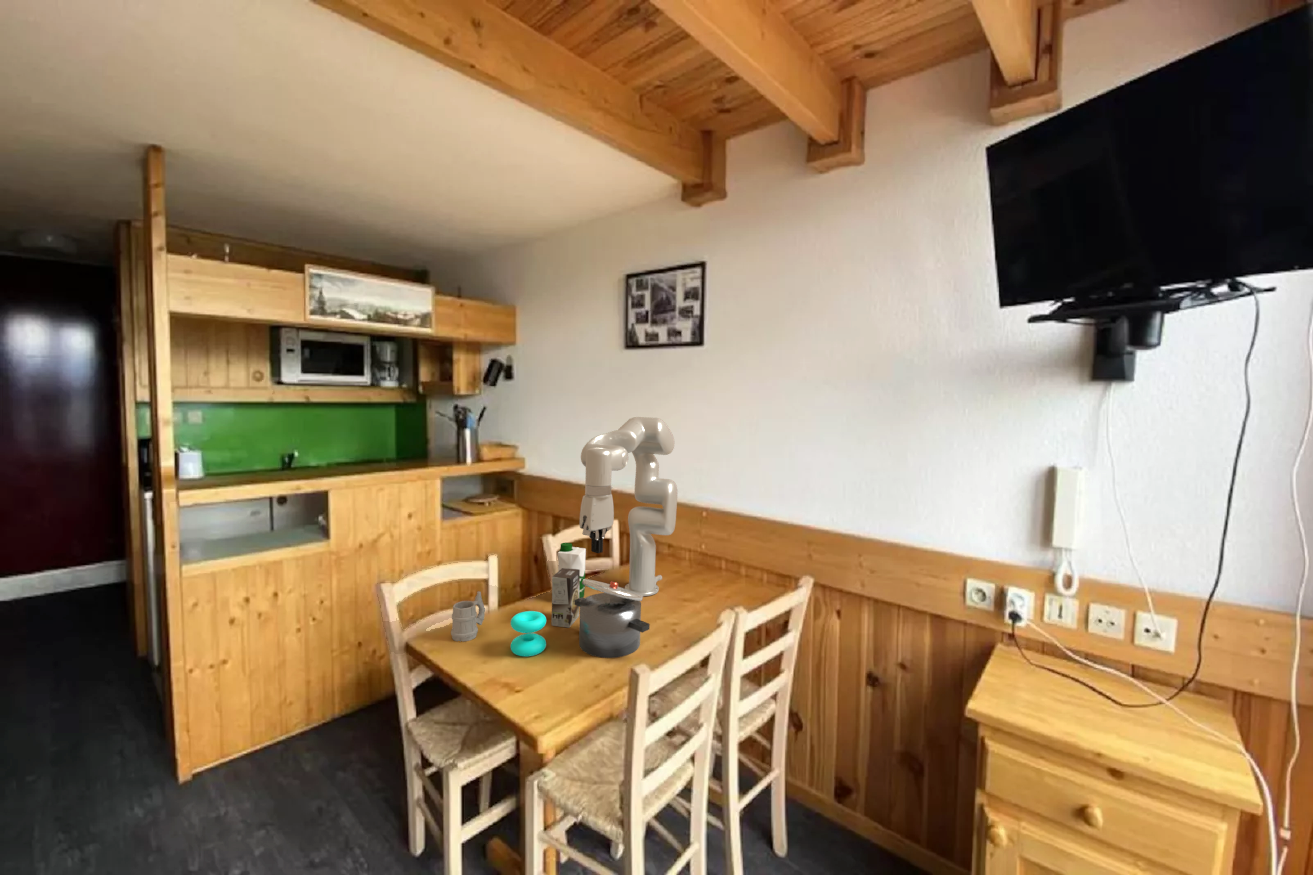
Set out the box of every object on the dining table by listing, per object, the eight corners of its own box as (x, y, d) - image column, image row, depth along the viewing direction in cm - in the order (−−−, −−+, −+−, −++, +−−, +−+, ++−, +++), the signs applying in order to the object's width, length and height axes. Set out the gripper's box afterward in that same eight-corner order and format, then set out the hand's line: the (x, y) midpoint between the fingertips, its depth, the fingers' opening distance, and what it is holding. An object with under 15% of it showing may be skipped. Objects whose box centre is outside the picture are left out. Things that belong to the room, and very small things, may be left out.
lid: (609, 587, 178) (612, 578, 179) (654, 603, 166) (656, 594, 167) (569, 580, 164) (572, 570, 165) (614, 596, 153) (617, 586, 153)
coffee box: (570, 628, 176) (570, 578, 174) (550, 625, 177) (551, 576, 175) (579, 616, 185) (580, 569, 183) (561, 614, 186) (561, 567, 184)
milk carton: (563, 593, 203) (564, 540, 201) (587, 596, 202) (588, 542, 200) (554, 603, 195) (555, 547, 193) (579, 605, 193) (580, 549, 191)
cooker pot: (599, 619, 183) (600, 583, 182) (666, 647, 165) (667, 608, 164) (555, 638, 169) (555, 599, 167) (623, 671, 151) (624, 628, 150)
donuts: (529, 627, 153) (503, 618, 158) (529, 662, 154) (502, 652, 159) (553, 614, 162) (528, 606, 167) (553, 647, 163) (527, 638, 168)
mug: (445, 638, 166) (444, 599, 165) (475, 623, 177) (474, 587, 176) (463, 644, 163) (463, 605, 162) (493, 629, 173) (493, 591, 172)
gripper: (607, 485, 171) (606, 544, 173) (570, 491, 160) (569, 554, 161) (625, 489, 166) (623, 549, 168) (588, 495, 155) (586, 560, 157)
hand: (596, 551), depth 165 cm, fingers closed
